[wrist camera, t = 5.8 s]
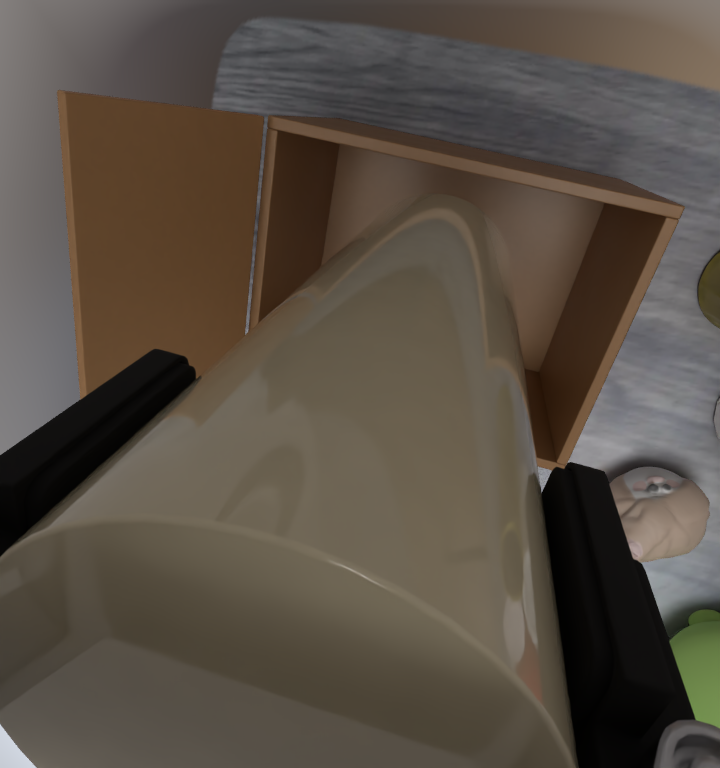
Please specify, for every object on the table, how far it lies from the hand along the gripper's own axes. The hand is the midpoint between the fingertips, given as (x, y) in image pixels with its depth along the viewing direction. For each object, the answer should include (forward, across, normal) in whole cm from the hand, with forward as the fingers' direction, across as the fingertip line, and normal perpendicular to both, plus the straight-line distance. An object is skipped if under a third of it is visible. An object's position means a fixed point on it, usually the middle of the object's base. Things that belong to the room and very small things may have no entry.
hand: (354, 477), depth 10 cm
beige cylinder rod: (+14, 0, 0) cm, 14 cm away
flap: (+11, +10, +2) cm, 15 cm away
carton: (+27, 0, +2) cm, 27 cm away
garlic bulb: (+27, -18, +15) cm, 36 cm away
